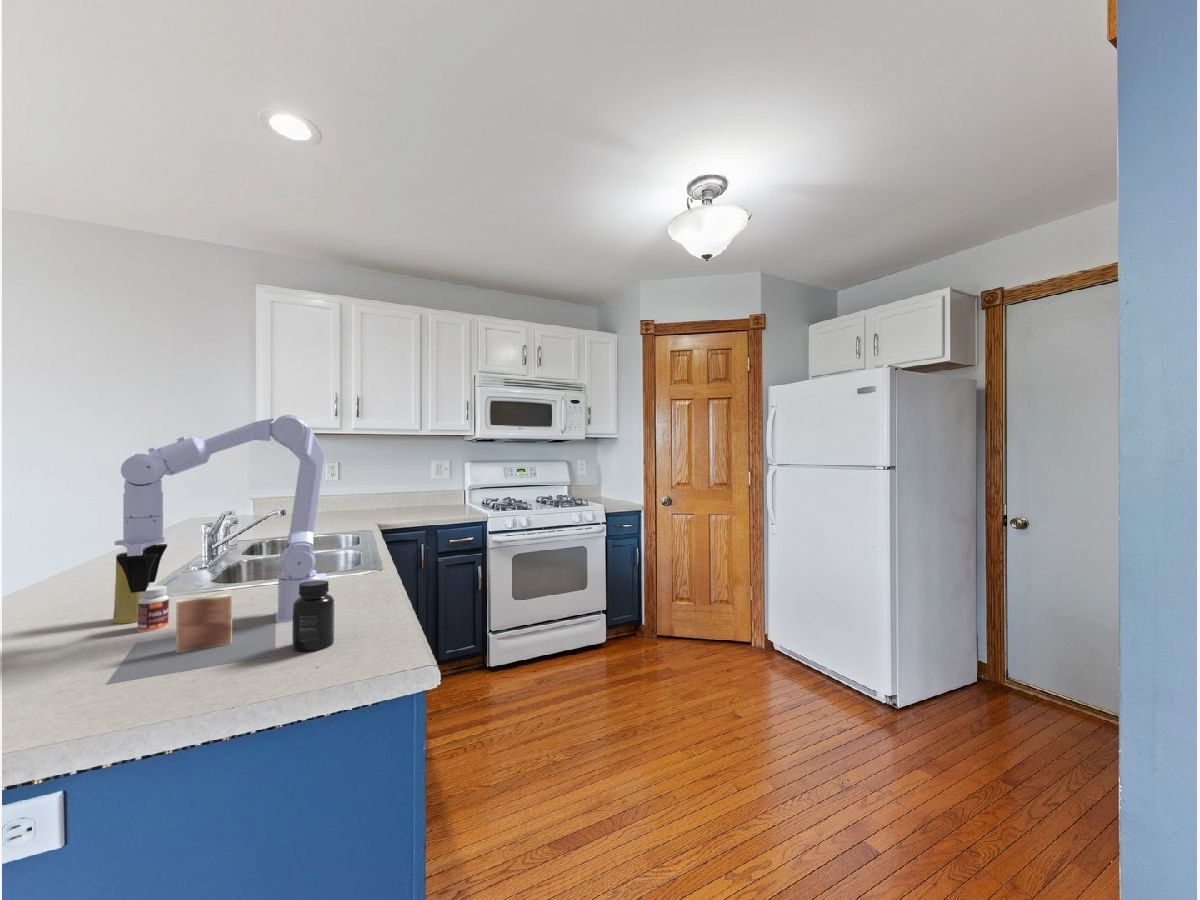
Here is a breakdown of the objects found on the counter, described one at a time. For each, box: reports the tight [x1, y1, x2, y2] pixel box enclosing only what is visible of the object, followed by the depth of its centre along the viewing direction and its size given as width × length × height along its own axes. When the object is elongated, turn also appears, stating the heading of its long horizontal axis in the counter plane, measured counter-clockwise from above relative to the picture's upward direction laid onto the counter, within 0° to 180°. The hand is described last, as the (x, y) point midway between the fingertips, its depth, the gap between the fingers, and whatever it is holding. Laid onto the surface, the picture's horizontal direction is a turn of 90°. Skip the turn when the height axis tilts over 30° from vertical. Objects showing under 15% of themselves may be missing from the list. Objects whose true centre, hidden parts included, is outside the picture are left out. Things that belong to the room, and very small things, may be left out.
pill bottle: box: [137, 585, 170, 633], centre depth 104 cm, size 5×5×8 cm
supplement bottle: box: [291, 580, 335, 653], centre depth 96 cm, size 7×7×12 cm
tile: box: [175, 593, 233, 653], centre depth 94 cm, size 8×2×9 cm, turn 122°
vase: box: [111, 551, 150, 625], centre depth 110 cm, size 6×6×14 cm
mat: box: [106, 622, 277, 685], centre depth 93 cm, size 22×20×1 cm
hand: (143, 587), depth 99 cm, fingers open, 7 cm apart
